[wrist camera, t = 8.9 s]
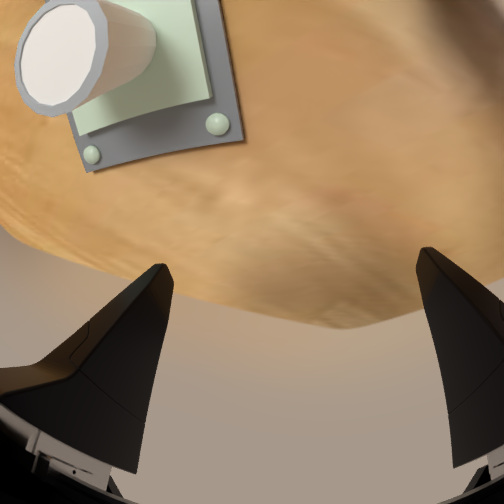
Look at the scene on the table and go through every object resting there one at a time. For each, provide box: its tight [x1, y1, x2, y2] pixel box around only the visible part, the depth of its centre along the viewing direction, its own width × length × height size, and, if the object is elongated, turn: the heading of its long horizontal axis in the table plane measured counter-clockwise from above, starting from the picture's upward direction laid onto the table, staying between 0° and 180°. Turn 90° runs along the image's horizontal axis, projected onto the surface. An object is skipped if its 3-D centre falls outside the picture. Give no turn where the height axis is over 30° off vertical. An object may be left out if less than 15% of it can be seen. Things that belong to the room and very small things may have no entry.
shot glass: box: [14, 0, 156, 117], centre depth 11 cm, size 7×7×7 cm
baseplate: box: [45, 0, 244, 173], centre depth 14 cm, size 14×18×2 cm
